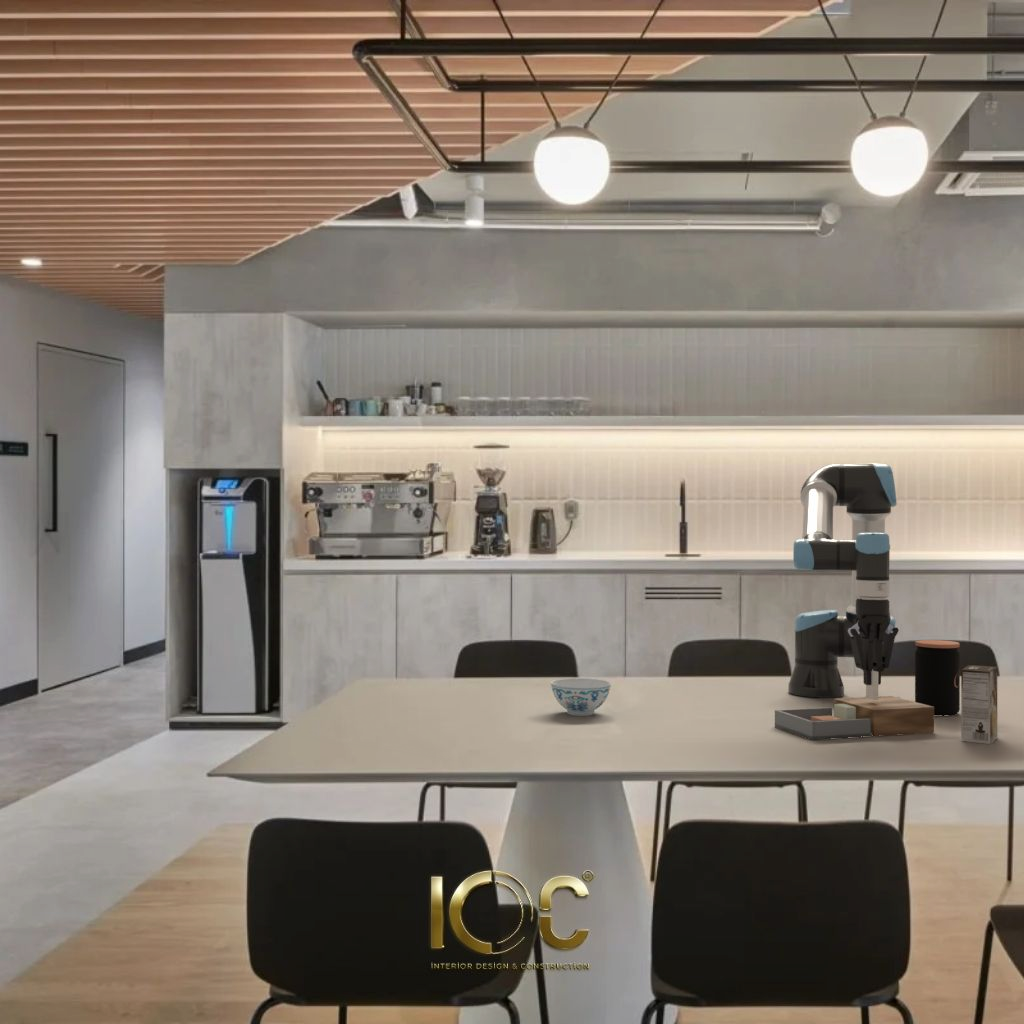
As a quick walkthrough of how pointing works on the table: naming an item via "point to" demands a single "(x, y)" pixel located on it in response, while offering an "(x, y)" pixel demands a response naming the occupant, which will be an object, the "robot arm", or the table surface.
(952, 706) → the coffee jar
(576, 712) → the chinaware
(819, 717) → the terracotta tile
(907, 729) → the walnut board
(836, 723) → the tray
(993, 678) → the coffee box
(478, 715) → the table surface
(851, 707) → the sage tile
